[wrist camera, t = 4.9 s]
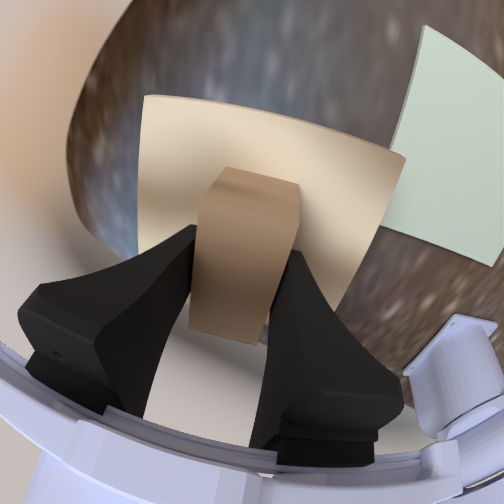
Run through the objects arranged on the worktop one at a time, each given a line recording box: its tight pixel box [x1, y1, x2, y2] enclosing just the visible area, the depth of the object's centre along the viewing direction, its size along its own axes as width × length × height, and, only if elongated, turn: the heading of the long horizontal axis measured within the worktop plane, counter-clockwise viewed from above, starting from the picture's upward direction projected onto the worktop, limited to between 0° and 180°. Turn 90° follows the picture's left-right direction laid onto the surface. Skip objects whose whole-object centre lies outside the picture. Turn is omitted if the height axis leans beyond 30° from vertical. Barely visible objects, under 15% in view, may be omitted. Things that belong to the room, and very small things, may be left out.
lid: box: [138, 95, 406, 345], centre depth 12 cm, size 11×11×4 cm
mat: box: [379, 25, 504, 267], centre depth 13 cm, size 13×13×1 cm
